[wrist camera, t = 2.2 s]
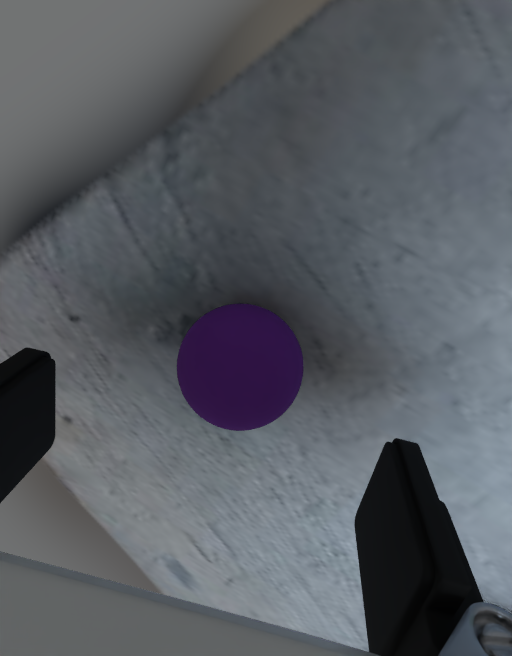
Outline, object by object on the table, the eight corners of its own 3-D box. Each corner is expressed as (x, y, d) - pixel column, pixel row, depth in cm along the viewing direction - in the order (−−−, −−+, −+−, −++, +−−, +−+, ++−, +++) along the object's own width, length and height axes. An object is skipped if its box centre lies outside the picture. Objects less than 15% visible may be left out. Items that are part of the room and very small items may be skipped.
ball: (204, 275, 15) (166, 318, 11) (317, 302, 15) (317, 355, 11) (189, 373, 17) (151, 439, 13) (290, 398, 17) (282, 473, 13)
